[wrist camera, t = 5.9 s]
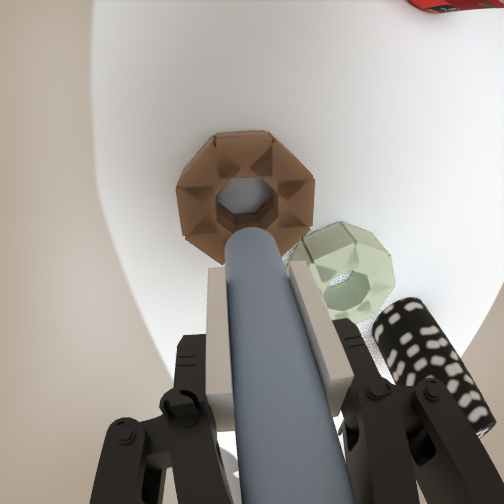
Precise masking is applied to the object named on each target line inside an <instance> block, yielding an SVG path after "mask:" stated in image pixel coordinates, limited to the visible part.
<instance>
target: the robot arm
mask: <svg viewBox="0 0 504 504" xmlns="http://www.w3.org/2000/svg"><path fill="white" fill-rule="evenodd" d="M289 282H290V285H291V288H292V291H293V294H294V297H295V300H296V303H297V306H298V309H299V312H300V315H301V318H302V321H303V324H304V327H305V330H306V334H307V337H308V340H309V343H310V346H311V349H312V352H313V356H314V359H315V362H316V365H317V368H318V372H319V375H320V378H321V381H322V385H323V388H324V391H325V394H326V398H327V401H328V404H329V408H330V411H331V414H332V417H336V416H338V415H339V413H340V410H341V411H342V414H343V417H344V420H343V422H342V424H341V426H340V428H339V430H338V435H341V434H342V432H343V441H344V449H345V458H346V466H347V470H348V473H349V477H350V480H351V484H352V488H353V491H354V495H355V499H356V502H357V504H420V502H419V496H418V490H417V484H416V480H417V482H418V484H419V487H420V489H421V491H422V493H423V495H424V497H425V499H426V502H427V504H504V483H503V481H502V479H501V477H500V475H499V474H498V471H497V470H496V468H495V466H494V464H493V462H492V460H491V459H490V457H489V455H488V453H487V451H486V450H485V448H484V446H483V444H482V443H481V441H480V439H479V438H478V436H477V434H476V433H475V431H474V429H473V428H472V426H471V424H470V423H469V421H468V420H467V418H466V416H465V415H464V413H463V412H462V410H461V408H460V407H459V405H458V404H457V402H456V401H455V399H454V398H453V396H452V394H451V393H450V391H449V390H448V388H447V387H446V385H445V384H444V383H443V382H442V381H440V380H438V379H436V378H430V377H429V378H425V379H423V380H421V381H420V382H419V383H418V385H417V386H399V385H394V384H391V383H390V382H389V381H388V380H387V379H385V378H383V377H381V375H380V373H379V372H378V369H377V367H376V365H375V363H374V361H373V359H372V357H371V354H370V352H369V350H368V348H367V346H366V345H365V342H364V340H363V338H362V337H361V333H360V331H359V329H358V327H357V326H356V325H355V324H354V323H353V322H352V321H351V320H350V319H349V318H343V319H336V320H331V318H330V315H329V313H328V310H327V308H326V306H325V304H324V301H323V299H322V297H321V294H320V292H319V290H318V287H317V285H316V283H315V281H314V278H313V276H312V274H311V272H310V269H309V267H308V265H307V263H306V261H305V260H302V261H291V262H289ZM175 365H176V367H175V375H174V387H173V388H172V389H170V390H169V391H168V392H166V393H165V394H164V395H163V397H162V398H161V400H160V405H159V408H160V409H161V411H162V413H163V414H162V415H161V416H159V417H156V418H153V419H150V420H146V421H142V422H138V421H137V420H135V419H132V418H129V417H128V418H120V419H117V420H115V421H114V422H113V423H112V424H111V425H110V426H109V428H108V430H107V433H106V437H105V440H104V444H103V448H102V451H101V455H100V459H99V463H98V467H97V472H96V476H95V480H94V485H93V489H92V494H91V499H90V504H162V501H163V493H164V484H165V477H166V470H167V468H169V467H172V469H173V475H174V482H175V487H176V493H177V499H178V504H234V503H233V500H232V496H231V492H230V489H229V484H228V480H227V477H226V473H225V469H224V465H223V460H222V456H221V452H220V448H219V444H218V441H217V432H225V431H235V422H234V409H235V407H234V394H233V380H232V366H231V351H230V335H229V318H228V299H227V282H226V272H225V267H219V268H208V287H207V321H206V334H197V335H183V337H182V339H181V340H180V342H179V343H178V345H177V354H176V364H175Z"/></svg>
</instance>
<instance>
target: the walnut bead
mask: <svg viewBox="0 0 504 504" xmlns="http://www.w3.org/2000/svg"><path fill="white" fill-rule="evenodd" d="M245 177H260V178H261V179H263V180H264V181H265V182H266V183H267V184H268V185H269V186H270V192H271V198H270V199H269V200H268V201H267V202H266V203H265V204H264V205H263V206H262V207H261V208H260V209H259V210H258V211H257V212H256V213H249V214H235V215H234V214H233V213H231V212H230V211H229V210H227V209H226V208H225V207H224V206H222V205H221V204H220V203H219V202H217V194H218V193H219V192H220V191H221V190H222V189H223V188H224V187H225V186H226V184H227V183H228V182H229V181H230V180H231V179H232V178H245ZM314 188H315V179H314V178H313V175H312V174H311V173H310V172H309V171H308V170H307V169H306V168H305V167H304V165H303V164H302V163H301V162H300V161H299V160H298V159H297V158H296V157H294V156H293V155H292V154H291V153H290V152H289V151H288V150H287V149H286V148H285V147H284V146H283V145H282V144H281V143H280V142H279V141H278V140H277V139H275V138H274V137H273V136H272V135H271V134H270V133H269V132H268V133H266V132H265V131H242V132H226V133H217V137H215V136H214V135H213V136H212V137H211V138H210V139H209V140H208V142H207V143H206V144H205V145H204V146H203V147H202V148H201V150H200V151H199V152H198V153H197V154H196V155H195V156H194V158H193V159H192V160H191V161H190V162H189V164H188V165H187V166H186V167H185V168H184V170H183V172H182V174H181V176H180V179H179V181H178V183H177V187H176V195H177V202H178V209H179V216H180V222H181V229H182V235H183V236H185V239H186V240H187V241H188V242H190V243H191V244H193V245H194V246H195V247H197V248H198V249H200V250H201V251H203V252H204V253H205V254H207V255H208V256H210V257H211V258H213V259H214V260H215V261H217V262H218V263H220V264H221V265H223V264H224V263H225V245H226V243H227V241H228V239H229V238H230V237H231V236H232V235H233V234H234V233H235V232H237V231H239V230H241V229H244V228H248V227H257V228H261V229H264V230H266V231H267V232H269V233H270V234H271V235H272V236H273V237H274V239H275V241H276V243H277V246H278V249H279V252H280V255H281V257H282V256H283V255H284V254H285V253H286V252H287V251H288V250H289V249H290V248H291V247H293V246H294V245H295V244H296V243H297V242H298V241H299V240H300V239H301V238H302V237H303V236H304V235H305V234H307V233H308V232H309V231H310V228H309V226H312V223H313V207H314Z"/></svg>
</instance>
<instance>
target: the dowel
mask: <svg viewBox="0 0 504 504" xmlns="http://www.w3.org/2000/svg"><path fill="white" fill-rule="evenodd" d="M225 272H226V282H227V299H228V318H229V335H230V351H231V366H232V380H233V394H234V407H235V409H234V422H235V434H236V446H237V457H238V468H239V479H240V488H241V499H242V504H357V502H356V499H355V495H354V491H353V488H352V484H351V480H350V477H349V473H348V470H347V466H346V462H345V459H344V455H343V452H342V448H341V445H340V442H339V438H338V435H337V431H336V428H335V424H334V421H333V418H332V414H331V411H330V408H329V404H328V401H327V398H326V394H325V391H324V388H323V385H322V381H321V378H320V375H319V372H318V368H317V365H316V362H315V359H314V356H313V352H312V349H311V346H310V343H309V340H308V337H307V334H306V330H305V327H304V324H303V321H302V318H301V315H300V312H299V309H298V306H297V303H296V300H295V297H294V294H293V291H292V288H291V285H290V282H289V279H288V276H287V273H286V270H285V267H284V264H283V261H282V258H281V255H280V252H279V249H278V246H277V243H276V241H275V239H274V237H273V236H272V235H271V234H270V233H269V232H267V231H266V230H264V229H261V228H257V227H248V228H244V229H241V230H239V231H237V232H235V233H234V234H233V235H232V236H231V237H230V238H229V239H228V241H227V243H226V245H225Z"/></svg>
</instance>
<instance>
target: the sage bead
mask: <svg viewBox="0 0 504 504" xmlns="http://www.w3.org/2000/svg"><path fill="white" fill-rule="evenodd" d="M303 240H304V241H303ZM303 240H300V241H299V243H298V245H297V247H296V249H295V251H294V253H293V255H292V257H291V259H290V261H289V262H291V261H302V260H305V261H306V263H307V265H308V267H309V269H310V272H311V274H312V276H313V278H314V281H315V283H316V285H317V287H318V290H319V292H320V294H321V297H322V299H323V301H324V304H325V306H326V308H327V310H328V313H329V315H330V318H331V320H336V319H343V318H349V319H350V320H351V321H352V322H353V323H354V324H358V323H360V322H362V321H364V320H367V319H369V318H371V317H373V315H372V314H374V315H375V314H376V313H377V312H378V310H379V309H380V307H381V306H382V305H383V303H384V302H385V300H386V299H387V297H388V296H389V295H390V293H391V292H392V290H393V289H394V287H395V286H394V285H395V277H394V271H393V265H392V259H391V255H390V254H389V253H388V251H387V250H386V249H385V248H384V247H383V245H382V244H381V243H380V242H379V241H378V240H377V238H376V237H375V236H374V235H373V234H372V233H371V232H368V231H366V230H363V229H360V228H358V227H355V226H353V225H350V224H347V223H345V222H341V224H340V223H339V222H337V223H335V224H332V225H330V226H328V227H325V228H323V229H321V230H319V231H316V232H314V233H312V234H309V235H307V236H305V237H303ZM285 270H286V273H287V276H288V279H289V263H288V265H287V267H286V269H285ZM351 270H352V271H353V272H352V274H351V275H350V277H349V278H348V280H346V281H344V282H342V283H340V284H337V285H335V286H333V287H330V286H328V285H329V283H330V282H331V280H332V279H333V278H335V277H337V276H340V275H342V274H344V273H346V272H349V271H351Z"/></svg>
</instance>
